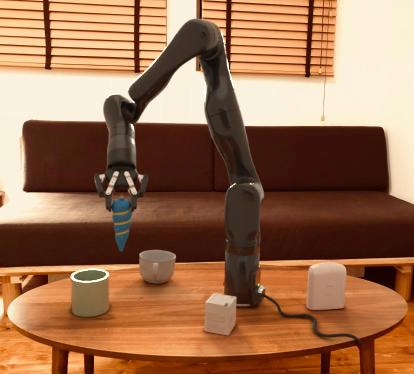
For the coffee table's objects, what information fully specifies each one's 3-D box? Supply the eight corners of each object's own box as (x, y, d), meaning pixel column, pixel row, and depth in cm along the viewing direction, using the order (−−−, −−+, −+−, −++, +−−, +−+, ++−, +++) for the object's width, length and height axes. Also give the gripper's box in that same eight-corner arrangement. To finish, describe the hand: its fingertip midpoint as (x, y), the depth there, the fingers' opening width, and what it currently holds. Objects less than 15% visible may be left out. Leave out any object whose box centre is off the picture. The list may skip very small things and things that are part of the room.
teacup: (145, 272, 145) (145, 247, 144) (179, 275, 144) (179, 250, 142) (130, 289, 131) (130, 262, 130) (168, 292, 130) (168, 265, 129)
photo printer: (309, 311, 121) (312, 266, 119) (303, 304, 125) (306, 260, 123) (346, 309, 123) (350, 265, 120) (339, 303, 127) (343, 259, 125)
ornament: (126, 255, 115) (128, 196, 112) (106, 253, 115) (108, 194, 113) (133, 249, 120) (136, 192, 117) (115, 247, 120) (116, 190, 118)
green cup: (115, 304, 121) (115, 272, 120) (95, 319, 113) (95, 284, 111) (85, 299, 124) (85, 266, 122) (63, 312, 115) (62, 278, 114)
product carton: (212, 320, 114) (213, 292, 113) (235, 324, 112) (237, 296, 111) (203, 331, 108) (204, 302, 107) (228, 336, 106) (229, 306, 105)
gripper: (93, 146, 119) (90, 202, 109) (149, 147, 121) (151, 201, 112) (94, 163, 125) (92, 218, 115) (148, 164, 128) (150, 217, 118)
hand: (121, 209), depth 114 cm, fingers closed on ornament, 5 cm apart
